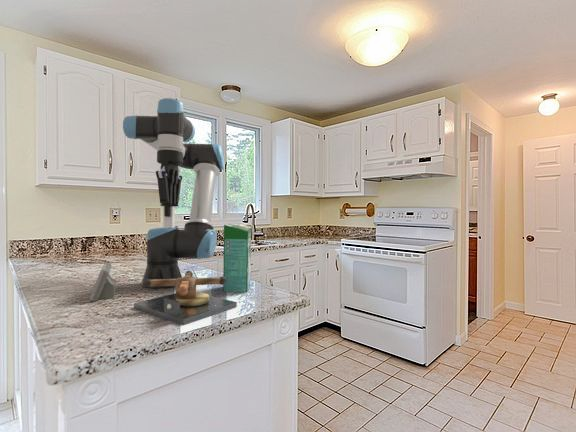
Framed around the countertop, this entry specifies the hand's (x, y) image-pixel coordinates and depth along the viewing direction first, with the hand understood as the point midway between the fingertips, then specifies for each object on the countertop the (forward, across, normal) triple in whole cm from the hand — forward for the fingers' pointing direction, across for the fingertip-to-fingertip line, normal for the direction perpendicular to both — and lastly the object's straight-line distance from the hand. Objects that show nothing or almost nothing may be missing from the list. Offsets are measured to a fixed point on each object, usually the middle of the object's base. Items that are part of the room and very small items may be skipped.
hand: (169, 227), depth 100 cm
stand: (+25, -1, +5) cm, 25 cm away
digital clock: (+25, -10, -29) cm, 39 cm away
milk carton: (+25, -27, +15) cm, 39 cm away
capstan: (+23, -1, +5) cm, 24 cm away
